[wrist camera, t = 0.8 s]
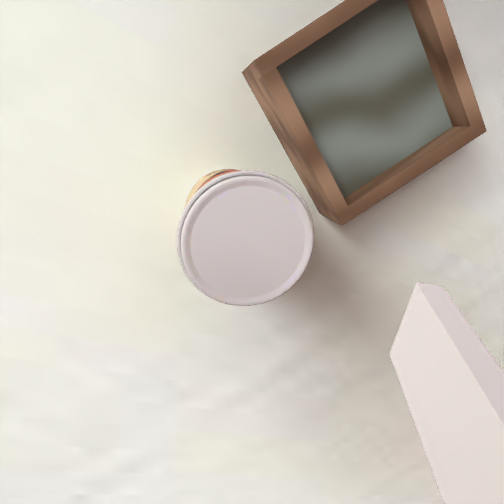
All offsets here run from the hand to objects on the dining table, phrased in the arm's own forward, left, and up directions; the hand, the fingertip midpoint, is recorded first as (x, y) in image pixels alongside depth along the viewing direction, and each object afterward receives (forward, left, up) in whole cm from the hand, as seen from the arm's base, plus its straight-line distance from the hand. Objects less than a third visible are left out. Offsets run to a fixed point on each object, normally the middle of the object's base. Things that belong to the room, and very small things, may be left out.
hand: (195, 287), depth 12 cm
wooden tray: (+2, +17, -24) cm, 30 cm away
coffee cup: (+4, +2, -24) cm, 25 cm away
